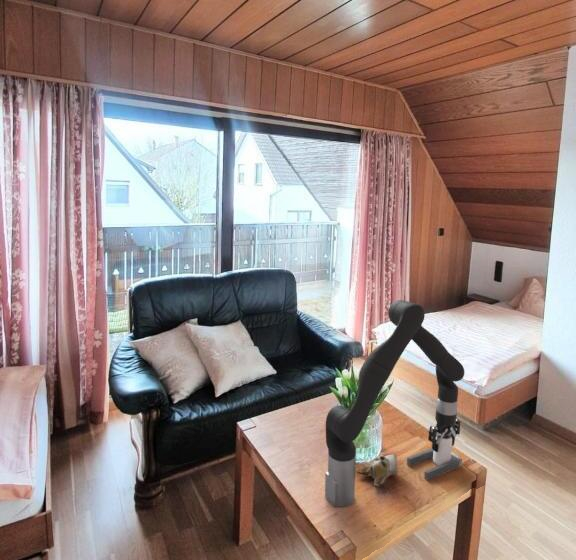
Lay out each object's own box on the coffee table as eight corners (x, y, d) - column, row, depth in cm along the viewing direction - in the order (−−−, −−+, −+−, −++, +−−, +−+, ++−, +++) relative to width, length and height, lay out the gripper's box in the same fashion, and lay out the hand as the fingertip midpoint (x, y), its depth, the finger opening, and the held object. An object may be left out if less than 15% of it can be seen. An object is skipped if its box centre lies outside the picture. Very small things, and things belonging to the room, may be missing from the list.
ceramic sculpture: (406, 457, 157) (375, 473, 150) (406, 477, 159) (375, 495, 152) (385, 443, 166) (355, 457, 159) (385, 462, 168) (355, 478, 161)
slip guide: (426, 480, 158) (427, 473, 157) (406, 464, 167) (407, 457, 166) (461, 465, 166) (462, 458, 165) (440, 451, 175) (441, 444, 174)
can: (431, 464, 167) (433, 436, 164) (434, 455, 173) (436, 428, 170) (449, 469, 164) (451, 441, 161) (451, 459, 170) (453, 432, 167)
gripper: (440, 418, 157) (437, 458, 161) (467, 409, 164) (463, 447, 167) (425, 409, 164) (422, 447, 167) (452, 401, 170) (448, 438, 174)
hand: (443, 447), depth 167 cm, fingers open, 8 cm apart
